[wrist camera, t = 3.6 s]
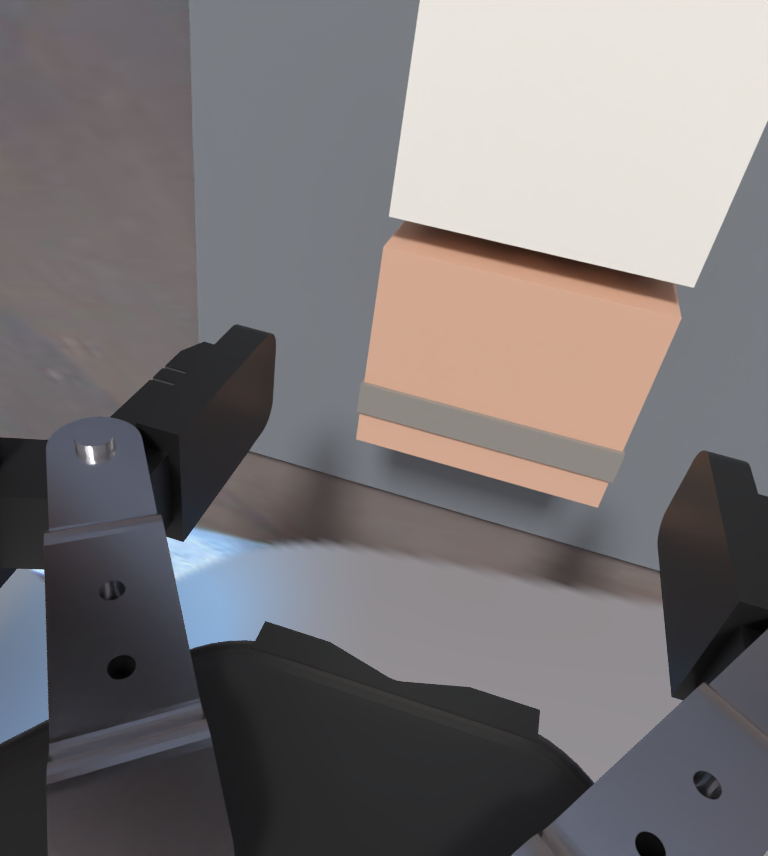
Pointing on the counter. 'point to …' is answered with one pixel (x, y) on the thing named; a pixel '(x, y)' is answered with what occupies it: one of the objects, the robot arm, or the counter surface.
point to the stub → (511, 360)
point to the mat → (361, 260)
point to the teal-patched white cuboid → (584, 125)
